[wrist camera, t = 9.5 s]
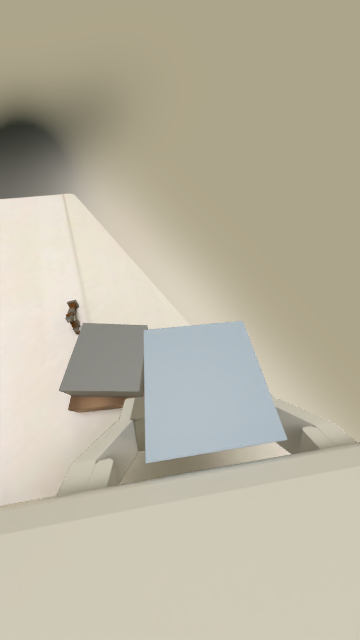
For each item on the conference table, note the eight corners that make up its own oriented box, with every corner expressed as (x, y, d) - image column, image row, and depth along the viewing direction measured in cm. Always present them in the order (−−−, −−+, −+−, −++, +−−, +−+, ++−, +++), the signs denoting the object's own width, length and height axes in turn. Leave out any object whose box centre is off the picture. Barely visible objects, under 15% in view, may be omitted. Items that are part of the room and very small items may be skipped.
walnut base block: (81, 412, 28) (68, 410, 24) (93, 345, 34) (84, 335, 31) (154, 404, 29) (153, 400, 26) (152, 341, 36) (151, 331, 32)
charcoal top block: (74, 396, 25) (58, 390, 21) (93, 336, 31) (83, 323, 27) (142, 397, 26) (139, 391, 22) (149, 338, 31) (147, 325, 27)
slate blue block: (162, 440, 13) (145, 463, 5) (158, 378, 15) (143, 329, 7) (220, 431, 13) (287, 439, 5) (208, 372, 15) (243, 320, 8)
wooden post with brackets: (72, 337, 34) (61, 319, 31) (75, 318, 40) (66, 301, 37) (82, 334, 34) (72, 316, 31) (83, 315, 40) (75, 298, 38)
